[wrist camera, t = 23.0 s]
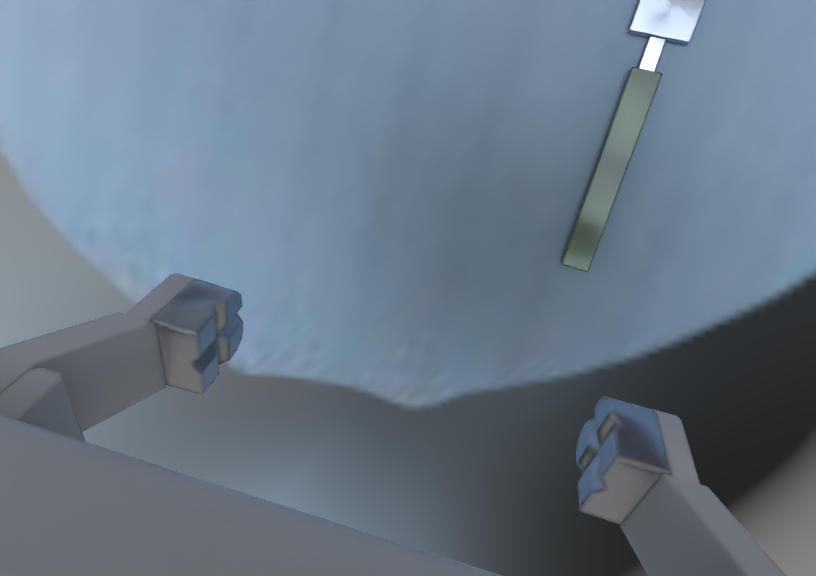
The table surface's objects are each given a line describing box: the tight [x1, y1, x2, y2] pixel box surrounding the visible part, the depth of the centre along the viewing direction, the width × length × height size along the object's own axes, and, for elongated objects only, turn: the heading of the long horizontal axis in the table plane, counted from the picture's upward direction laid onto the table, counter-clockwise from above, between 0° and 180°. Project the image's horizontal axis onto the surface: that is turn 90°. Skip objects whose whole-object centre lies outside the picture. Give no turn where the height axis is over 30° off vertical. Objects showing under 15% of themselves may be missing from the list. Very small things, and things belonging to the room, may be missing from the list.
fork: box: [562, 0, 706, 272], centre depth 31 cm, size 24×4×1 cm, turn 165°
